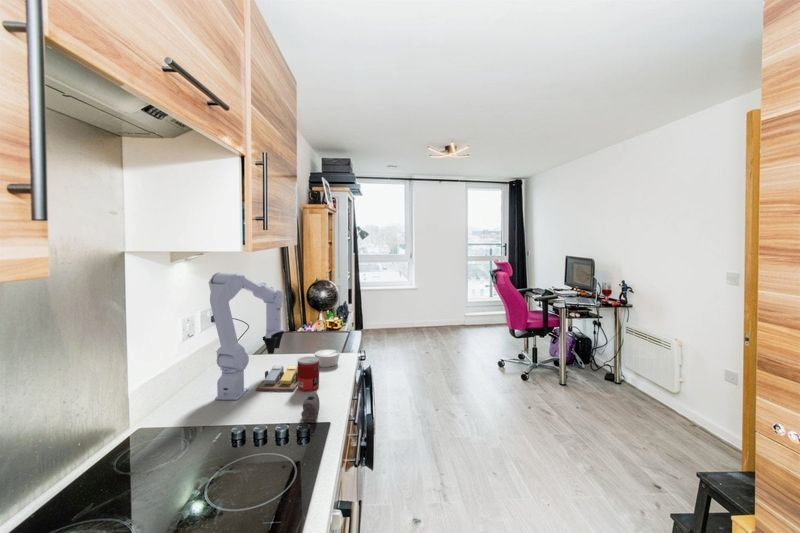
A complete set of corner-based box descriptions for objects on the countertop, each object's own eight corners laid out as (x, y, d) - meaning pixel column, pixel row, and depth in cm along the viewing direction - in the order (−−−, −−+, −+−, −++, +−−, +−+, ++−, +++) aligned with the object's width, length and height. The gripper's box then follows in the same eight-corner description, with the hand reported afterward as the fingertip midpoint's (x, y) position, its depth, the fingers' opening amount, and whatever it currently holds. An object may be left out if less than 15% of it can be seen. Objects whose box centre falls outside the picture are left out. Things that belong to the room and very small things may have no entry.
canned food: (317, 391, 133) (317, 362, 132) (295, 392, 133) (295, 362, 132) (320, 383, 141) (320, 356, 140) (299, 384, 140) (299, 356, 140)
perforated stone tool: (306, 405, 122) (306, 385, 122) (322, 404, 123) (322, 384, 122) (299, 427, 107) (299, 405, 107) (317, 427, 108) (317, 404, 107)
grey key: (275, 383, 136) (275, 379, 136) (264, 383, 136) (263, 379, 136) (283, 369, 146) (283, 365, 146) (273, 369, 146) (273, 365, 146)
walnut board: (293, 391, 133) (293, 379, 133) (255, 390, 133) (255, 379, 133) (305, 375, 149) (305, 365, 149) (271, 375, 149) (271, 364, 149)
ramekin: (340, 367, 160) (340, 355, 160) (314, 369, 157) (314, 357, 157) (338, 359, 171) (338, 348, 171) (314, 361, 168) (314, 350, 168)
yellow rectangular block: (291, 384, 136) (290, 379, 136) (279, 383, 136) (279, 379, 136) (298, 369, 146) (298, 365, 146) (288, 369, 146) (287, 365, 146)
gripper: (278, 322, 142) (278, 356, 143) (288, 315, 157) (288, 345, 158) (260, 322, 142) (260, 356, 143) (271, 315, 156) (271, 345, 157)
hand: (273, 350), depth 150 cm, fingers open, 7 cm apart
